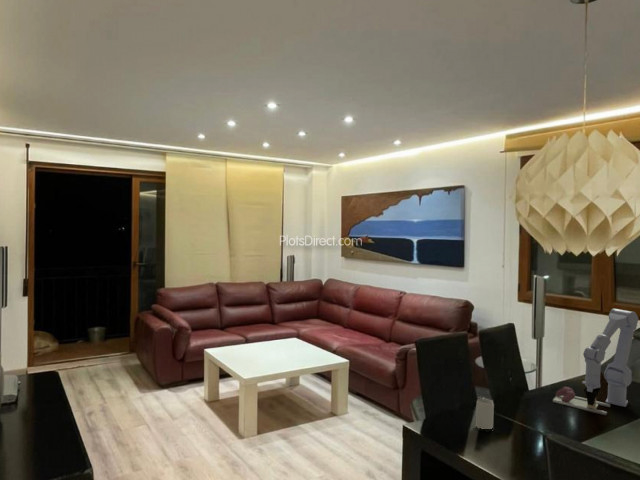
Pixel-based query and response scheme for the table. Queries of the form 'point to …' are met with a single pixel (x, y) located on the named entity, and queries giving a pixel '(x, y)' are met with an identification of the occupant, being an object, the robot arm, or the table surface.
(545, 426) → the table surface
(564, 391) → the purple lumpy piece
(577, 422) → the table surface
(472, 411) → the table surface
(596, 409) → the aluminium rails
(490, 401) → the can
